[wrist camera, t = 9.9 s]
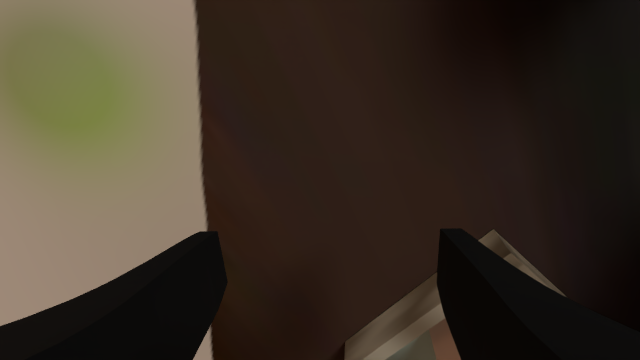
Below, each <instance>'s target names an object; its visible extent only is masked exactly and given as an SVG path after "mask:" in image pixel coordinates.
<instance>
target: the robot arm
mask: <svg viewBox="0 0 640 360" xmlns="http://www.w3.org/2000/svg"><path fill="white" fill-rule="evenodd" d="M436 283H437V288H438V292H439V297H440V301H441V305H442V309H443V313H444V316H445V318H446V321H447V324H448V326H449V329H450V332H451V334H452V337H453V340H454V342H455V345H456V348H457V350H458V353H459V355H460V358H461V360H640V332H639V331H636V330H634V329H632V328H629V327H627V326H625V325H623V324H620V323H618V322H616V321H614V320H612V319H609V318H607V317H605V316H603V315H600V314H598V313H596V312H594V311H592V310H590V309H588V308H586V307H584V306H582V305H580V304H578V303H576V302H574V301H572V300H571V299H569V298H567V297H565V296H563V295H561V294H559V293H557V292H556V291H554V290H552V289H550V288H549V287H547V286H545V285H543V284H542V283H540V282H538V281H537V280H535V279H534V278H532V277H530V276H529V275H527V274H526V273H524V272H522V271H521V270H519V269H518V268H516V267H515V266H513V265H512V264H510V263H509V262H507V261H506V260H504V259H503V258H502V257H500V256H499V255H497V254H496V253H494V252H493V251H492V250H490V249H489V248H488V247H486V246H485V245H483V244H482V243H481V242H479V241H478V240H477V239H475V238H474V237H472V236H471V235H470V234H468V233H467V232H465V231H464V230H462V229H440V239H439V253H438V268H437V282H436ZM226 285H227V277H226V272H225V267H224V262H223V257H222V252H221V247H220V242H219V237H218V232H217V231H209V232H198V233H196V234H194V235H192V236H190V237H188V238H186V239H184V240H183V241H181V242H179V243H177V244H176V245H174V246H172V247H170V248H169V249H167V250H165V251H164V252H162V253H160V254H159V255H157V256H155V257H154V258H152V259H150V260H148V261H147V262H145V263H143V264H141V265H139V266H138V267H136V268H134V269H132V270H130V271H128V272H127V273H125V274H123V275H121V276H120V277H118V278H116V279H114V280H112V281H110V282H108V283H106V284H104V285H102V286H100V287H98V288H96V289H93V290H91V291H89V292H87V293H85V294H83V295H80V296H78V297H76V298H74V299H71V300H69V301H66V302H64V303H61V304H59V305H56V306H54V307H52V308H49V309H46V310H44V311H41V312H39V313H36V314H33V315H31V316H28V317H26V318H23V319H20V320H17V321H14V322H11V323H8V324H6V325H2V326H0V360H193V358H194V356H195V354H196V352H197V350H198V348H199V346H200V344H201V342H202V341H203V338H204V337H205V335H206V333H207V331H208V329H209V327H210V325H211V323H212V321H213V319H214V317H215V315H216V313H217V311H218V309H219V306H220V303H221V300H222V298H223V295H224V291H225V288H226Z"/></svg>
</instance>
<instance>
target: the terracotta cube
mask: <svg viewBox="0 0 640 360" xmlns="http://www.w3.org/2000/svg"><path fill="white" fill-rule="evenodd" d="M429 332H430V336H431V340H432V344H433V348H434V352H435V355H436V359H437V360H461V358H460V355H459V353H458V350H457V348H456V345H455V342H454V340H453V337H452V334H451V332H450V329H449V326H448V324H447V321H446V318H445V319H443V320H442V321H440V322H439V323H438V324H436V325H435V326H433V327H432V328H430V329H429Z"/></svg>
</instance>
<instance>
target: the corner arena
mask: <svg viewBox="0 0 640 360" xmlns="http://www.w3.org/2000/svg"><path fill="white" fill-rule="evenodd" d="M478 241H479V242H481V243H482V244H483V245H485V246H486V247H488V248H489V249H490V250H492V251H493V252H494V253H496V254H497V255H499V256H500V257H502V258H503V259H504V260H506V261H507V262H509V263H510V264H512V265H513V266H515V267H516V268H518V269H519V270H521V271H522V272H524V273H526V274H527V275H529V276H530V277H532V278H534V279H535V280H537V281H538V282H540V283H542V284H543V285H545V286H547V287H549V288H550V289H552V290H554V291H556V292H557V293H559V294H561V295H563V296H565V295H564V294H563V293H562V292H561V291H560V290H559V289H557V288H556V287H555V286H554V285H553V284H552V283H551V282H550V281H549V280H548V279H547V278H546V277H544V276H543V275H542V274H541V273H540V272H539V271H538V270H537V269H536V268H535V267H534V266H533V265H532V264H530V263H529V262H528V261H527V260H526V259H525V258H524V257H523V256H522V255H521V254H520V253H519V252H518V251H516V250H515V249H514V248H513V247H512V246H511V245H510V244H509V243H508V242H507V241H506V240H505V239H503V238H502V237H501V236H500V235H499V234H498V233H497V232H496V231H495V230H494V229H493V230H492V231H490V232H489V233H488V234H486V235H485V236H484V237H482V238H481V239H480V240H478ZM436 282H437V272H436V273H435V274H434V275H432V276H431V277H430V278H428V279H427V280H426V281H424V282H423V283H422V284H420V285H419V286H418V287H416V288H415V289H414V290H413V291H411V292H410V293H409V294H407V295H406V296H405V297H403V298H402V299H401V300H399V301H398V302H397V303H395V304H394V305H393V306H391V307H390V308H389V309H388V310H386V311H385V312H384V313H382V314H381V315H380V316H378V317H377V318H376V319H374V320H373V321H372V322H370V323H369V324H368V325H366V326H365V327H364V328H363V329H361V330H360V331H359V332H357V333H356V334H355V335H353V336H352V337H351V338H349V339H348V340H347V341H345V360H437V359H436V355H435V352H434V348H433V344H432V340H431V336H430V332H429V329H430V328H432V327H433V326H435V325H436V324H438V323H439V322H440V321H442V320H443V319H445V316H444V313H443V309H442V305H441V301H440V297H439V292H438V288H437V283H436ZM565 297H566V296H565Z"/></svg>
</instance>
